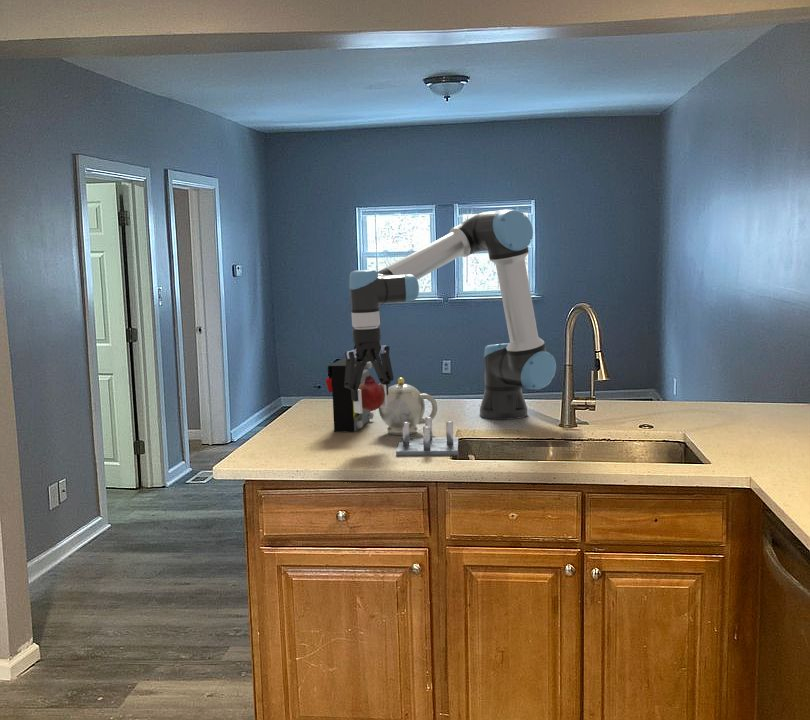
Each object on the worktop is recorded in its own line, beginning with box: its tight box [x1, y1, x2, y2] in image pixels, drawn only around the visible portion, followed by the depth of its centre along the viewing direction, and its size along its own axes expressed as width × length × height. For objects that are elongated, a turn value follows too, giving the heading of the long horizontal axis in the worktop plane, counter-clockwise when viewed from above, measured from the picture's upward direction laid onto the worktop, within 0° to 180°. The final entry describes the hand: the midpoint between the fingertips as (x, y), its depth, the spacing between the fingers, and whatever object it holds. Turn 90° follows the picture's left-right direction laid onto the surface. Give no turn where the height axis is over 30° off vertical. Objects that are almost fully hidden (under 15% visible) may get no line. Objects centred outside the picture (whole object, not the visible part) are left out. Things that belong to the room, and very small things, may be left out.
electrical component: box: [325, 357, 374, 433], centre depth 260 cm, size 18×10×20 cm, turn 168°
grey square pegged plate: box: [395, 416, 459, 457], centre depth 228 cm, size 16×16×7 cm
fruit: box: [358, 374, 385, 412], centre depth 231 cm, size 8×8×10 cm
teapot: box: [378, 377, 438, 436], centre depth 248 cm, size 18×14×16 cm
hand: (371, 410), depth 232 cm, fingers closed on fruit, 8 cm apart
